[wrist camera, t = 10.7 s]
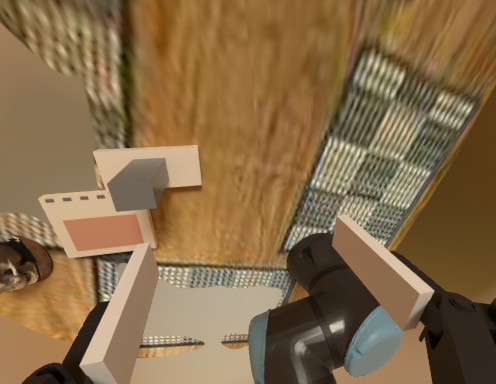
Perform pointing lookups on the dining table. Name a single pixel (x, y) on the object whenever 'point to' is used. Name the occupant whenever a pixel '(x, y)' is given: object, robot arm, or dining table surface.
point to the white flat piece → (96, 224)
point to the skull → (22, 264)
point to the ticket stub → (146, 173)
